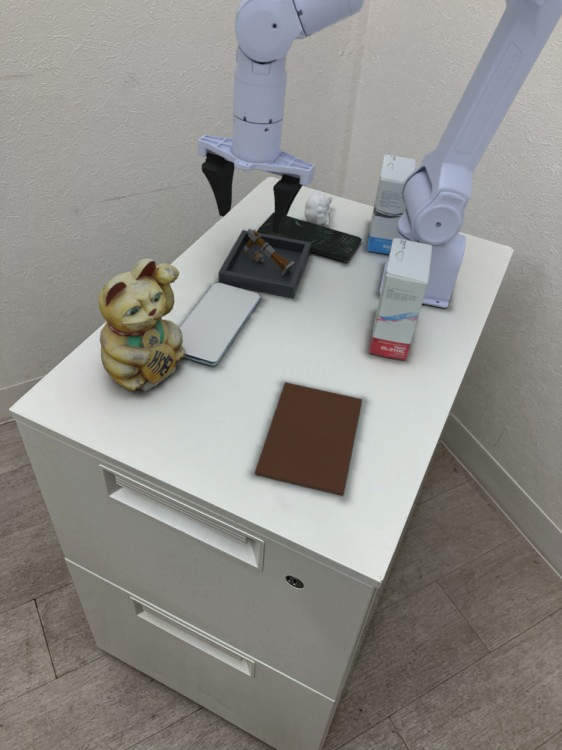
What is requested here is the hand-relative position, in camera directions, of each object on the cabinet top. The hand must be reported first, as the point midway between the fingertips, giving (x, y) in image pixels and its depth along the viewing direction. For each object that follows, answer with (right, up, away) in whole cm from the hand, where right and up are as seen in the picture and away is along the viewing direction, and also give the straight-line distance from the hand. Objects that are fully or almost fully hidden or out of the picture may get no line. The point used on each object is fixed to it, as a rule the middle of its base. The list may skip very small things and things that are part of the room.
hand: (251, 221), depth 75 cm
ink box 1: (+20, +1, +16) cm, 25 cm away
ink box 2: (+18, -15, -1) cm, 24 cm away
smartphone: (-5, -13, -1) cm, 14 cm away
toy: (+12, +6, +17) cm, 22 cm away
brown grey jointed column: (+2, -4, +8) cm, 9 cm away
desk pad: (+7, -27, -13) cm, 31 cm away
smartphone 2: (+8, +1, +14) cm, 16 cm away
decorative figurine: (-12, -20, -8) cm, 24 cm away
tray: (+2, -5, +8) cm, 9 cm away
